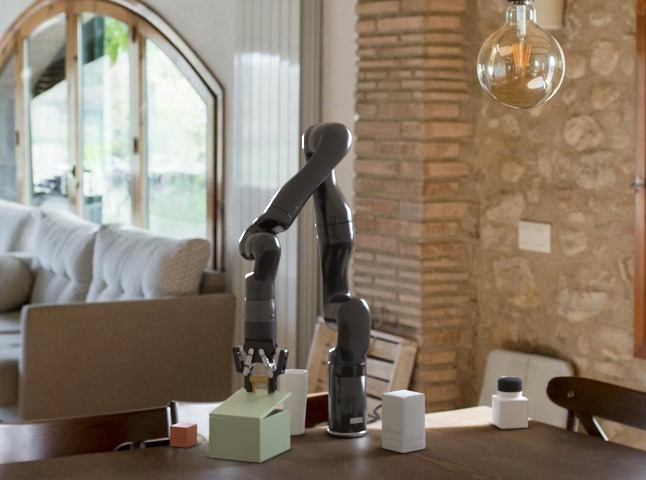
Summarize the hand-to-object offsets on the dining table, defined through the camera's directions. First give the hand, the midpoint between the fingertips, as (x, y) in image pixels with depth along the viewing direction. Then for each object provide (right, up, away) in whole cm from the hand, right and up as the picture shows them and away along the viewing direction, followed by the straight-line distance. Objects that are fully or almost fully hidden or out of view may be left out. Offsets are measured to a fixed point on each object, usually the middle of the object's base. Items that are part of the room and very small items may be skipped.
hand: (260, 392), depth 294 cm
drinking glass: (+7, -13, +15) cm, 21 cm away
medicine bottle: (+60, -14, +24) cm, 66 cm away
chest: (-2, -13, -5) cm, 14 cm away
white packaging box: (+33, -13, -1) cm, 35 cm away
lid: (-2, -2, -4) cm, 5 cm away
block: (-18, -13, +3) cm, 22 cm away
